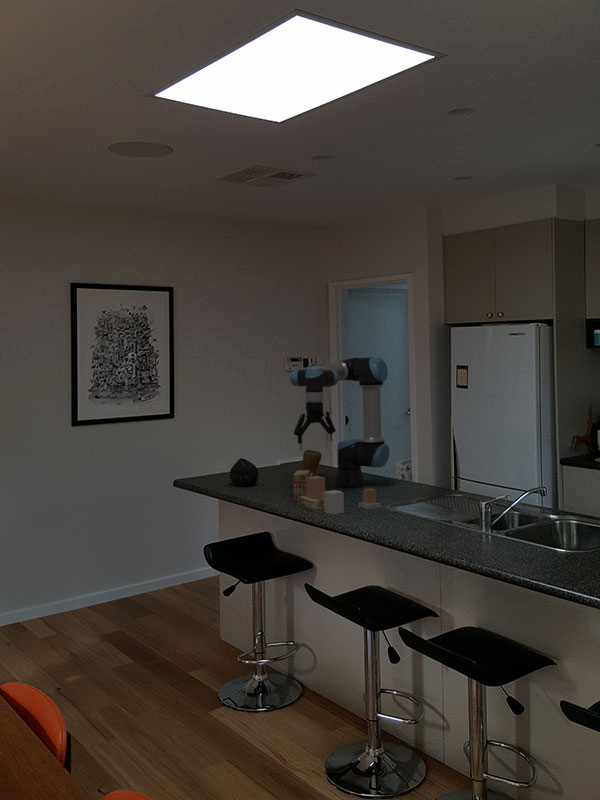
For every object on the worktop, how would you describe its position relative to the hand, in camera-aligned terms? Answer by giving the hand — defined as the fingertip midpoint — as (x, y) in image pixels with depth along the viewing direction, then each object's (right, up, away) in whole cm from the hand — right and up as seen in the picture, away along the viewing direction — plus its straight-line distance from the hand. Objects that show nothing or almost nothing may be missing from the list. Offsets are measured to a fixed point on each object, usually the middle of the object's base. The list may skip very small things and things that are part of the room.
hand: (315, 449), depth 333 cm
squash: (-35, -22, +54) cm, 68 cm away
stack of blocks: (-5, -24, +24) cm, 34 cm away
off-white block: (+8, -26, -14) cm, 30 cm away
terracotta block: (0, -21, -1) cm, 21 cm away
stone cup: (-2, -20, +76) cm, 79 cm away
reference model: (+24, -25, -4) cm, 35 cm away
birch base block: (0, -25, -1) cm, 25 cm away
